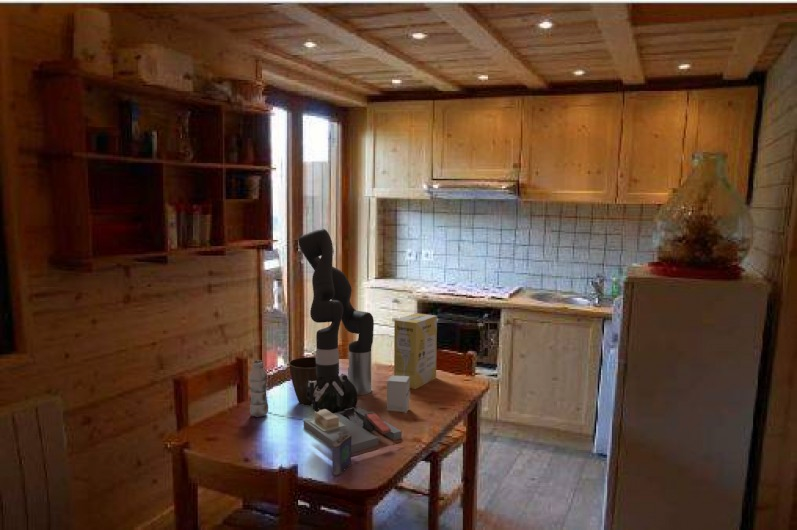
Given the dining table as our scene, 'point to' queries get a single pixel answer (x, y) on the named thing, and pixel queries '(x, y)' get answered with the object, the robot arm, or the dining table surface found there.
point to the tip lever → (367, 420)
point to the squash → (330, 399)
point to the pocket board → (350, 432)
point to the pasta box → (415, 348)
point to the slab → (326, 418)
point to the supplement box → (398, 393)
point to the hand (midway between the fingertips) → (328, 408)
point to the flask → (341, 453)
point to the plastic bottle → (258, 390)
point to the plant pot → (303, 377)
